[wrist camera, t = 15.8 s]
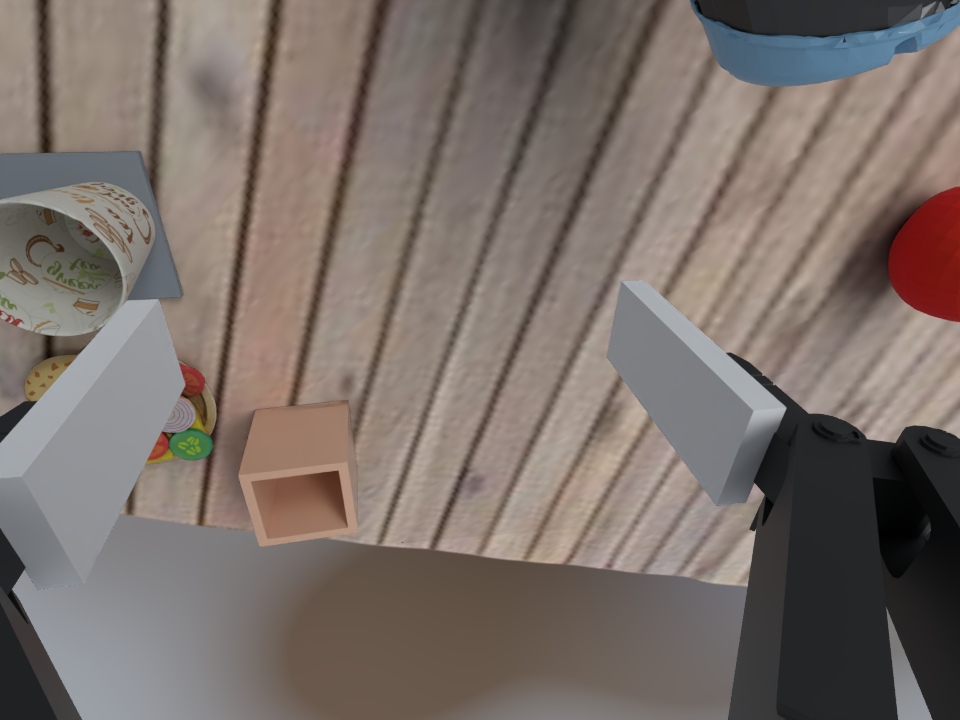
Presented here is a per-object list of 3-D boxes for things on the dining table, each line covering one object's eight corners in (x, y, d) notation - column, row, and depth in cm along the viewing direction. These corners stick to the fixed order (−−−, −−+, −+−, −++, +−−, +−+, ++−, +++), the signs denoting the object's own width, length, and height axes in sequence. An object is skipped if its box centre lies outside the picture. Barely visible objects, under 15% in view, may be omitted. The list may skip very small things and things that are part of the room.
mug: (196, 253, 41) (156, 308, 32) (45, 310, 41) (-35, 380, 32) (125, 146, 36) (57, 177, 28) (-45, 210, 36) (-165, 261, 28)
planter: (255, 409, 50) (238, 475, 42) (348, 400, 51) (347, 461, 44) (272, 476, 54) (259, 546, 47) (357, 466, 56) (358, 532, 48)
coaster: (-40, 154, 35) (-45, 156, 35) (140, 151, 37) (137, 152, 37) (31, 303, 41) (27, 306, 40) (183, 293, 43) (181, 297, 42)
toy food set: (19, 351, 43) (-4, 372, 40) (185, 318, 44) (174, 336, 41) (103, 469, 50) (89, 493, 47) (244, 437, 51) (237, 459, 49)
